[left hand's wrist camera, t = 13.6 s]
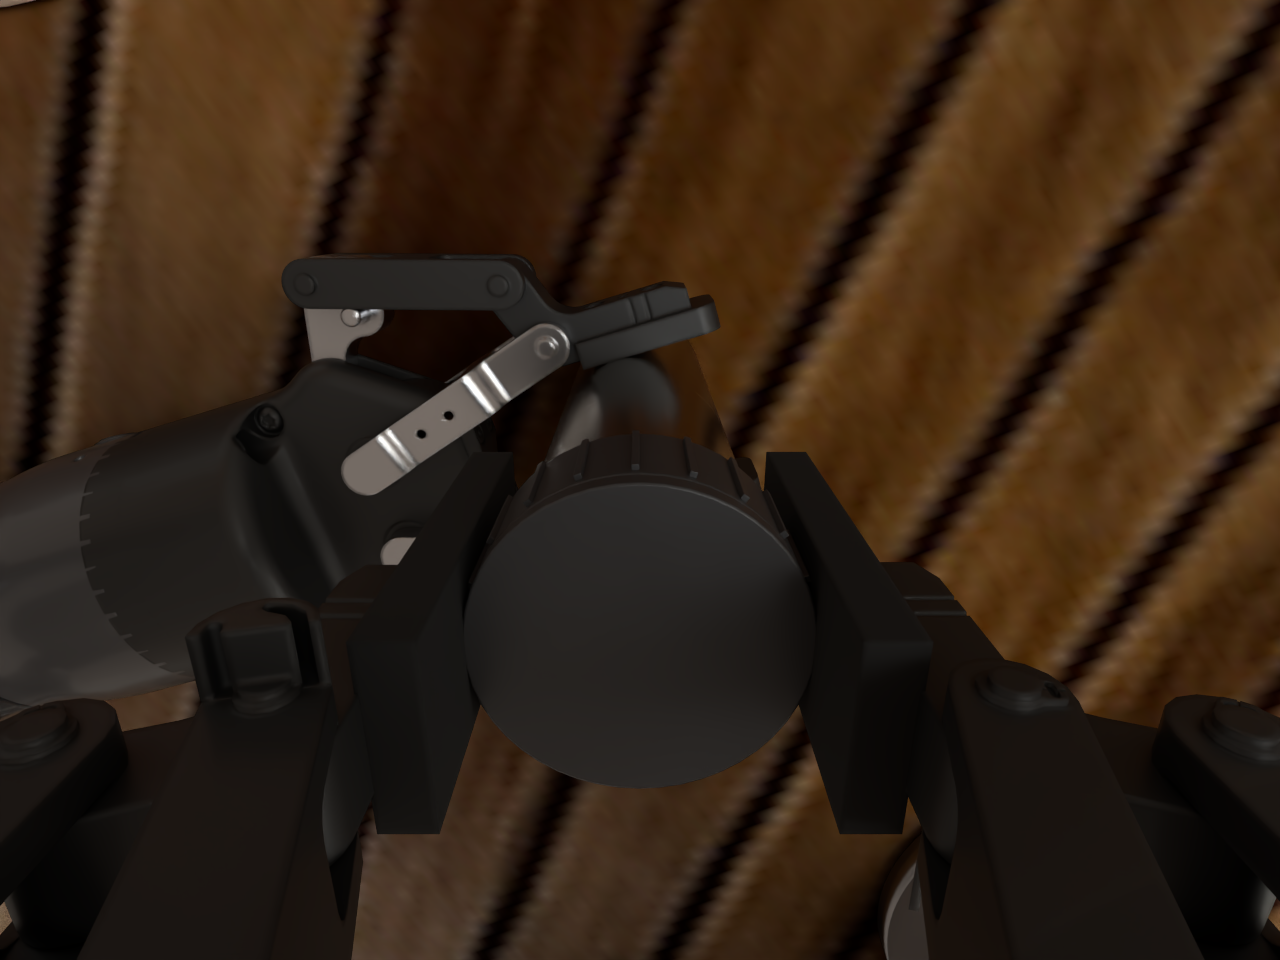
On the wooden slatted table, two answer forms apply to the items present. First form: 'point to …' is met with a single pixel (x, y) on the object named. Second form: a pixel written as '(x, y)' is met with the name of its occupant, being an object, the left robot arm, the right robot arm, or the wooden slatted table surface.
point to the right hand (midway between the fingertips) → (733, 397)
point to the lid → (639, 614)
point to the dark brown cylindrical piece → (642, 401)
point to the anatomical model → (12, 2)
